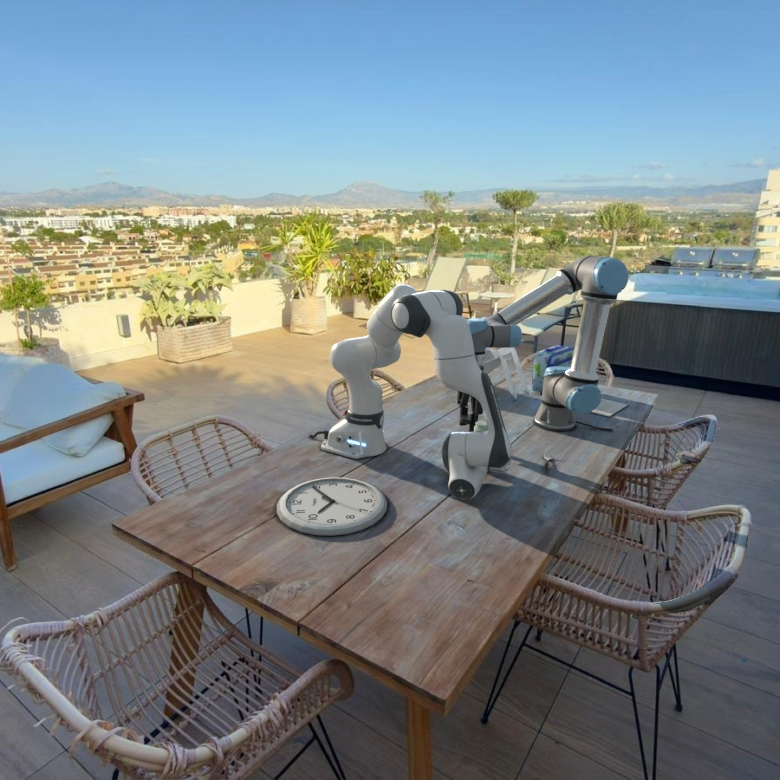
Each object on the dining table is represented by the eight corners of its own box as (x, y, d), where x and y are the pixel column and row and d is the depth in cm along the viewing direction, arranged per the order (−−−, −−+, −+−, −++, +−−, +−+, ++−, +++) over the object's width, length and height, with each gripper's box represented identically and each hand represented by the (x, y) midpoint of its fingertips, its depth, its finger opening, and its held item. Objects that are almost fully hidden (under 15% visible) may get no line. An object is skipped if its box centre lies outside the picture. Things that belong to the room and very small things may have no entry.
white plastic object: (461, 429, 252) (437, 405, 227) (444, 352, 274) (420, 323, 250) (535, 404, 240) (518, 377, 215) (510, 326, 262) (492, 293, 237)
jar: (482, 462, 171) (485, 419, 166) (490, 469, 166) (494, 424, 162) (468, 464, 169) (471, 421, 164) (476, 471, 164) (479, 426, 160)
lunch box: (548, 398, 236) (553, 353, 229) (527, 393, 243) (531, 349, 237) (575, 387, 253) (581, 344, 247) (555, 382, 260) (560, 341, 254)
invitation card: (608, 416, 214) (573, 407, 224) (608, 416, 214) (573, 408, 224) (628, 404, 229) (594, 396, 238) (628, 405, 229) (594, 397, 238)
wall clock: (392, 527, 129) (268, 531, 127) (391, 533, 130) (269, 537, 127) (383, 473, 158) (282, 475, 155) (383, 478, 158) (282, 480, 156)
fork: (540, 473, 163) (541, 467, 163) (544, 453, 178) (545, 448, 177) (549, 474, 162) (550, 468, 162) (552, 454, 177) (553, 449, 176)
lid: (456, 422, 182) (456, 417, 182) (464, 417, 187) (464, 412, 187) (472, 426, 179) (472, 421, 179) (479, 421, 184) (480, 416, 183)
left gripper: (509, 462, 150) (515, 444, 162) (440, 451, 156) (450, 434, 169) (507, 481, 152) (513, 462, 164) (439, 470, 158) (449, 452, 170)
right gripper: (449, 358, 184) (445, 420, 191) (478, 372, 167) (472, 439, 174) (468, 357, 187) (463, 418, 194) (498, 370, 170) (491, 436, 177)
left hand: (481, 448), depth 166 cm, fingers closed on jar, 5 cm apart
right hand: (467, 428), depth 184 cm, fingers closed on lid, 6 cm apart
